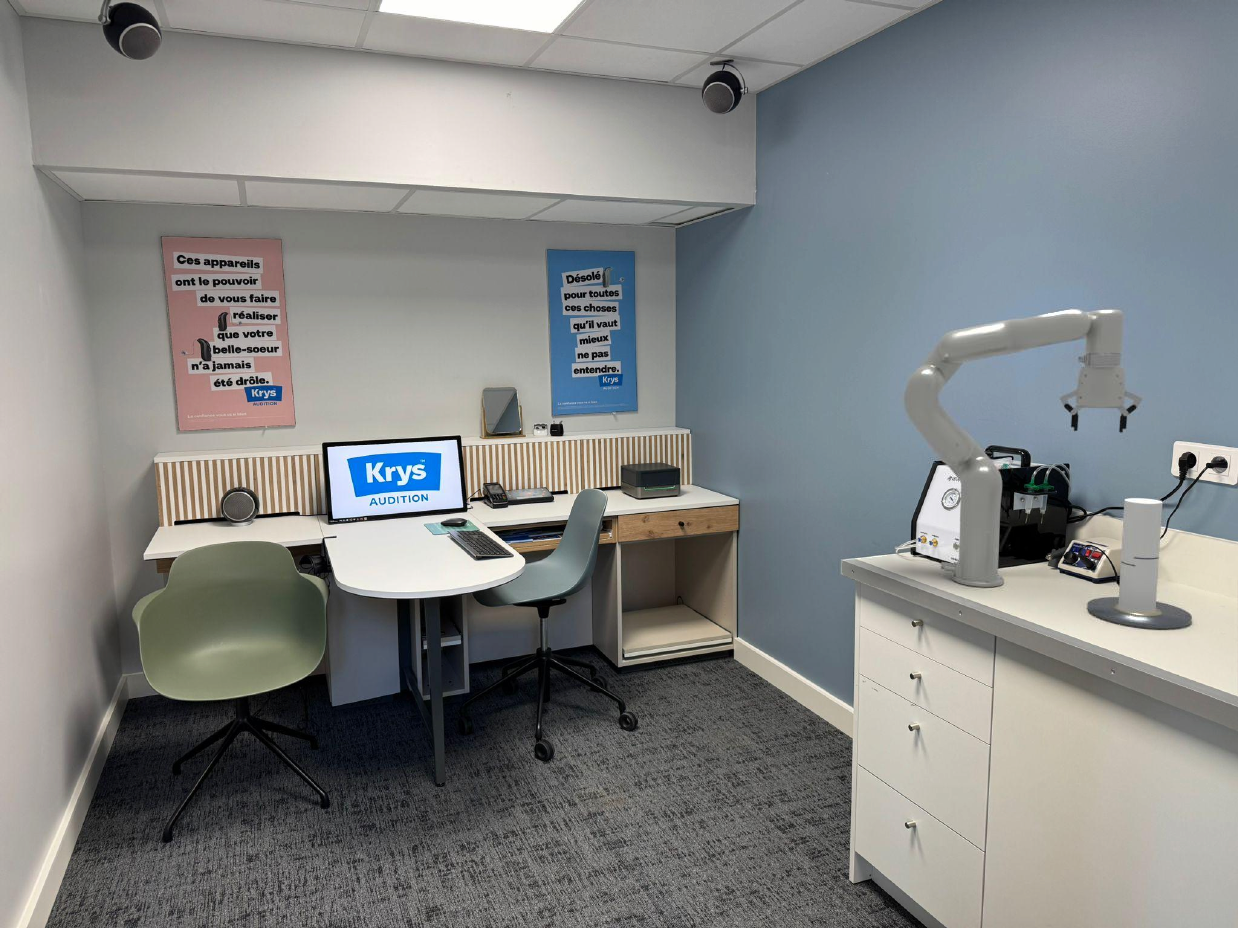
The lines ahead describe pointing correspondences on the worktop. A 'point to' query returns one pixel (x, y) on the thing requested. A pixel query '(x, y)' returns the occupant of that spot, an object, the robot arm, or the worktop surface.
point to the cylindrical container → (1140, 555)
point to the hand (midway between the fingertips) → (1098, 431)
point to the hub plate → (1140, 615)
